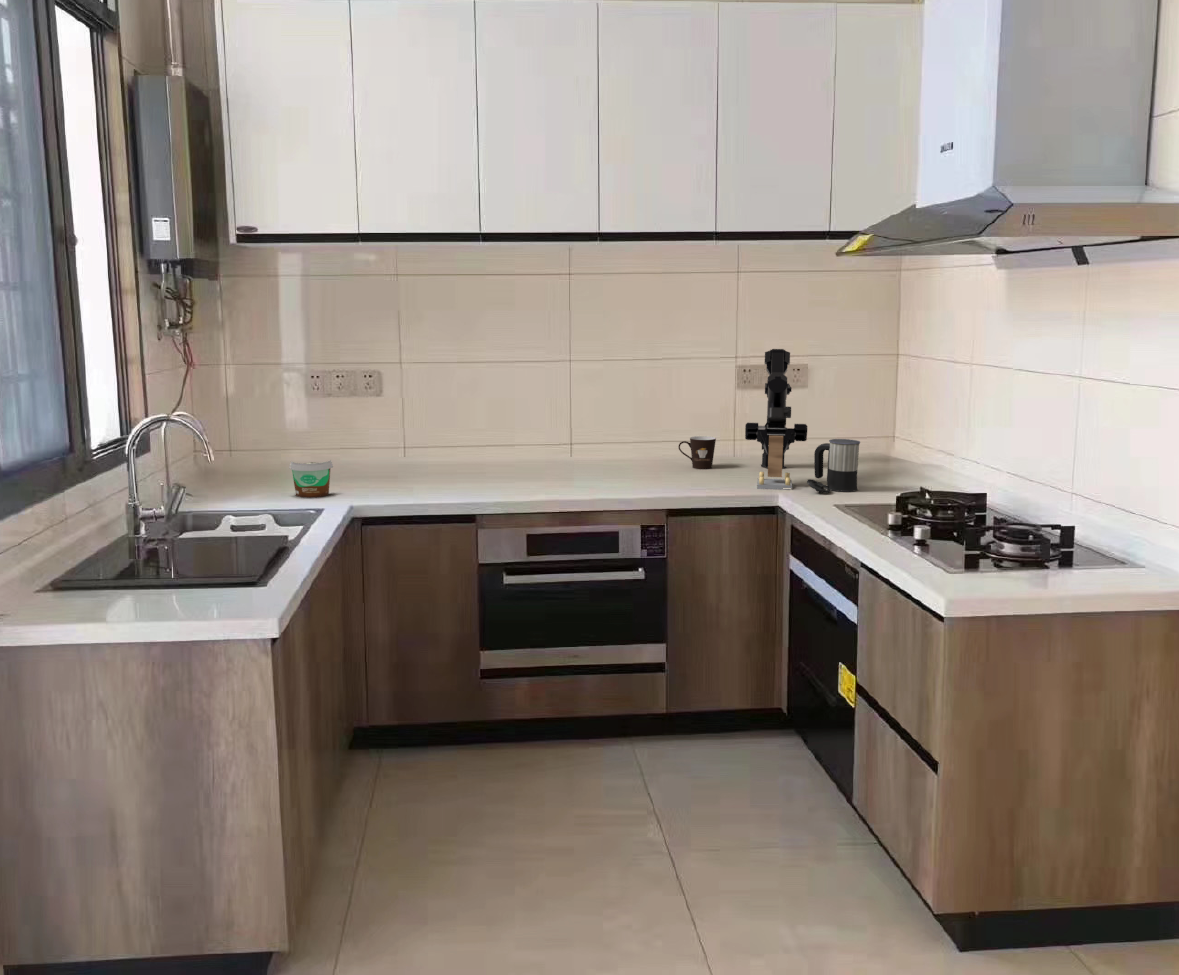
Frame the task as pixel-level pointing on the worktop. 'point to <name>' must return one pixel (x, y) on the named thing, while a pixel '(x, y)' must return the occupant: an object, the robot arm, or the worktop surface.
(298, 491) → the food container
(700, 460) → the coffee mug
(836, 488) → the milk frother
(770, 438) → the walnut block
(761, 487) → the peg stand
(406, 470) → the worktop surface
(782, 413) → the robot arm
